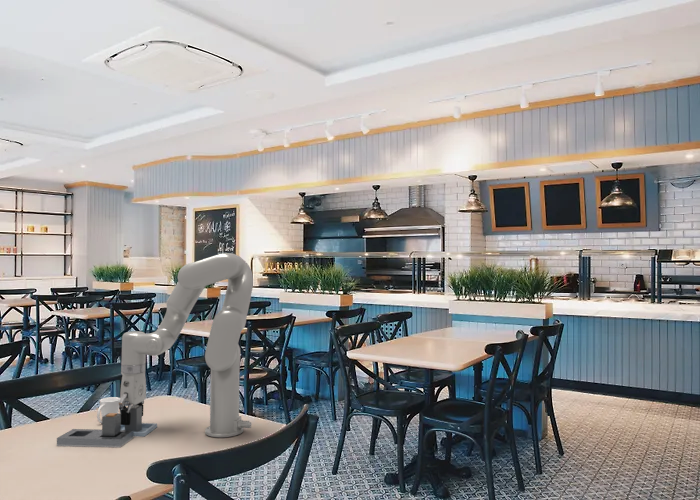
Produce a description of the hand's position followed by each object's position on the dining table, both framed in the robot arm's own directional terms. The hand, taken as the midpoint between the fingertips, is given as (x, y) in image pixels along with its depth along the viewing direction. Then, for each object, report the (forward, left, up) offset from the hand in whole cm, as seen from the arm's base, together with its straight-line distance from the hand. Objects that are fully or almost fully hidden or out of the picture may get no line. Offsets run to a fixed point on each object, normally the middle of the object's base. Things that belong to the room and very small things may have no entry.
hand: (131, 420), depth 184 cm
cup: (+13, -10, -4) cm, 17 cm away
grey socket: (+6, +11, -4) cm, 13 cm away
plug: (-1, 0, -4) cm, 4 cm away
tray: (-1, 0, -4) cm, 4 cm away
